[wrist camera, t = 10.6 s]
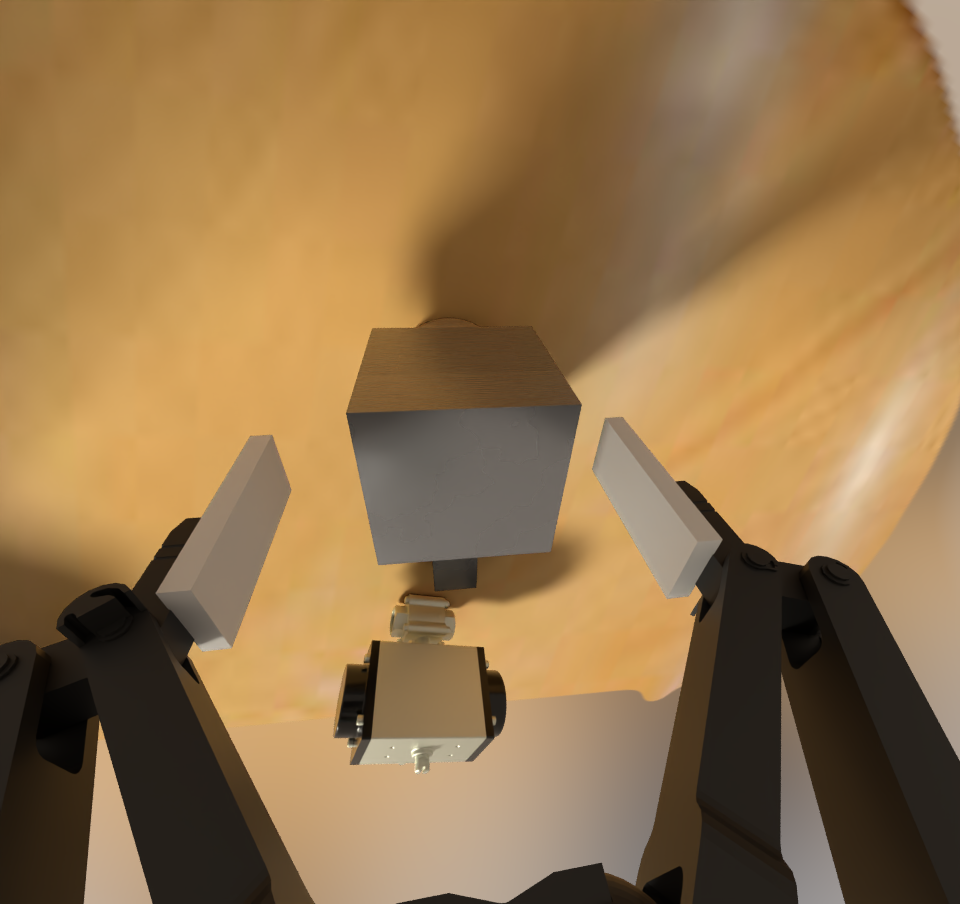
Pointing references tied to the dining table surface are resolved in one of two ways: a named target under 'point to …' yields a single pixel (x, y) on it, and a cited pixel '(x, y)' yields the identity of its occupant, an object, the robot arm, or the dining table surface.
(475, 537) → the gray cube
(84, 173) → the dining table surface
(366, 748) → the pneumatic valve
